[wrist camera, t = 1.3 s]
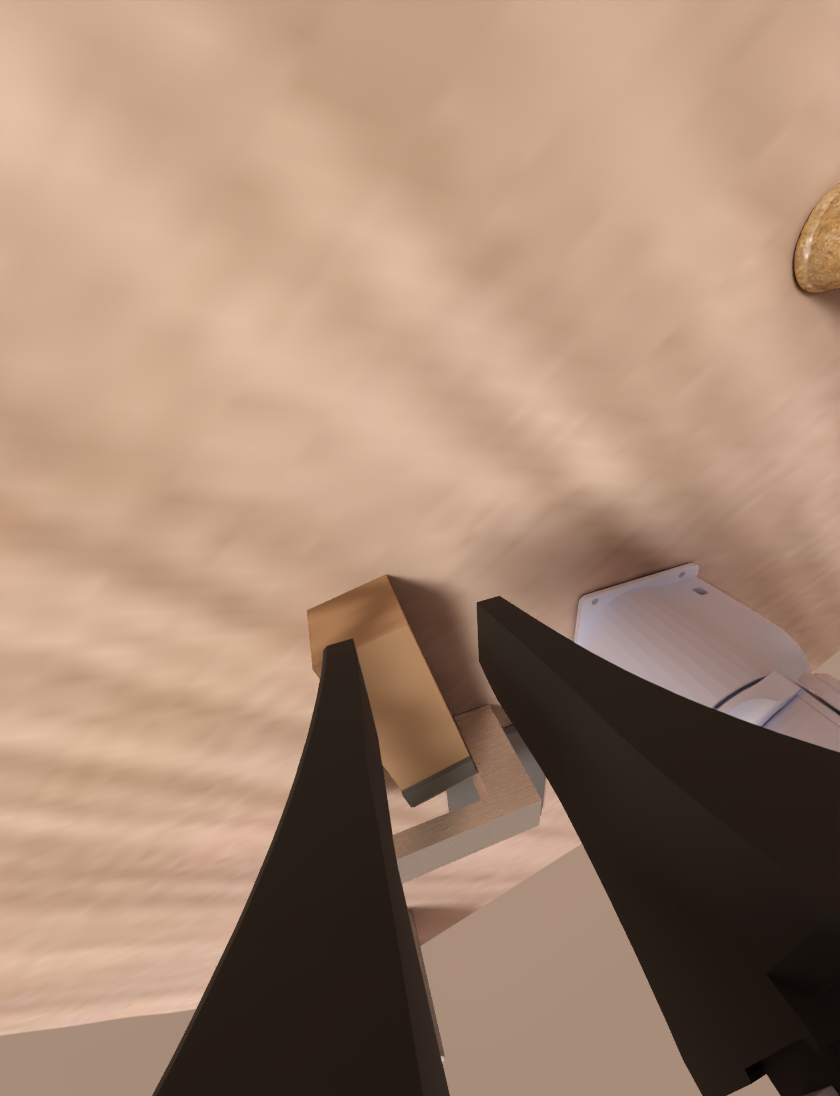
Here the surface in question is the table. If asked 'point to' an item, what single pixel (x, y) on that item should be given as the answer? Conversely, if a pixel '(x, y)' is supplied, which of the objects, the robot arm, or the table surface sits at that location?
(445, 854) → the housing
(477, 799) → the pad
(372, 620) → the wooden block
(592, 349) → the table surface
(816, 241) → the sprinkles bottle
